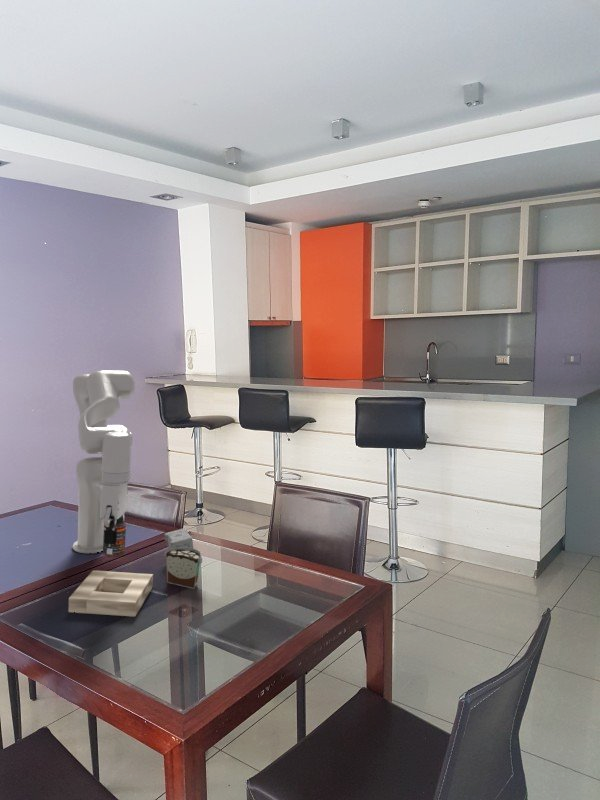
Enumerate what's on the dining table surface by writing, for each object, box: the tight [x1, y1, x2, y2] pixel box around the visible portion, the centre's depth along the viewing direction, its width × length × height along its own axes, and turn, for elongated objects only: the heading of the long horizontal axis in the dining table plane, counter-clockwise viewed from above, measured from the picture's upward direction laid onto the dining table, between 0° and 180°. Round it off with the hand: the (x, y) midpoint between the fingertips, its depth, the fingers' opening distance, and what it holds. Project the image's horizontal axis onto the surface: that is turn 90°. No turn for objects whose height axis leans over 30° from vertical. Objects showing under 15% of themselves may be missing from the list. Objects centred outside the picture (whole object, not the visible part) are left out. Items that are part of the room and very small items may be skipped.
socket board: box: [68, 569, 154, 617], centre depth 167 cm, size 18×18×4 cm
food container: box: [163, 547, 203, 590], centre depth 180 cm, size 12×6×10 cm, turn 71°
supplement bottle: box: [102, 515, 127, 558], centre depth 164 cm, size 6×6×11 cm
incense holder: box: [163, 528, 194, 550], centre depth 193 cm, size 10×8×10 cm
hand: (114, 538), depth 165 cm, fingers closed on supplement bottle, 6 cm apart
